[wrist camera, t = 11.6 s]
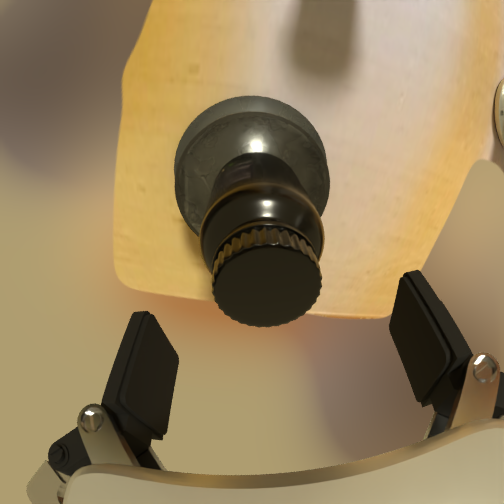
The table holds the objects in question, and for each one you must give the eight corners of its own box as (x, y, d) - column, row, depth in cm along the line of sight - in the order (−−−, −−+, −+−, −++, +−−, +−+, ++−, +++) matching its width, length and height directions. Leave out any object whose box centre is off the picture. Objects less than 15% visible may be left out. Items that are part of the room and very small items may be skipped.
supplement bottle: (315, 191, 22) (372, 289, 12) (255, 242, 24) (265, 358, 14) (255, 130, 19) (272, 183, 9) (195, 191, 21) (156, 294, 11)
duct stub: (314, 86, 22) (334, 86, 17) (328, 222, 30) (344, 252, 25) (160, 115, 23) (138, 123, 18) (197, 245, 31) (190, 278, 26)
